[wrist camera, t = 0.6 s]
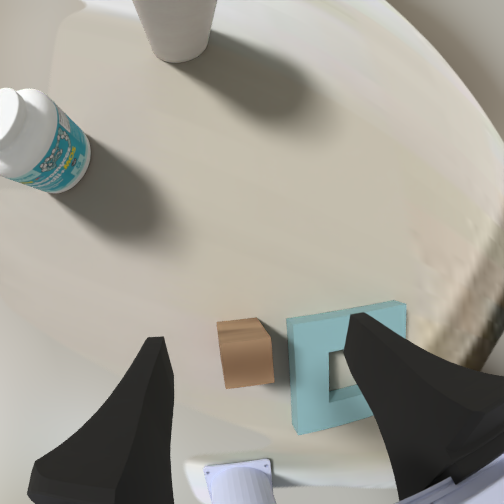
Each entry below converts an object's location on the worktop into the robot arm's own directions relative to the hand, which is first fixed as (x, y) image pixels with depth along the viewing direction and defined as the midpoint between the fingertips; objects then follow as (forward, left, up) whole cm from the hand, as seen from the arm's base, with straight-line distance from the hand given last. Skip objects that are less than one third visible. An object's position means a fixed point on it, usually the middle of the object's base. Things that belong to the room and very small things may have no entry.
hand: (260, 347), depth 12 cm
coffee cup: (+27, +3, -19) cm, 34 cm away
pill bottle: (+14, +16, -19) cm, 29 cm away
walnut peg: (-6, -1, -19) cm, 20 cm away
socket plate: (-11, -12, -19) cm, 25 cm away
